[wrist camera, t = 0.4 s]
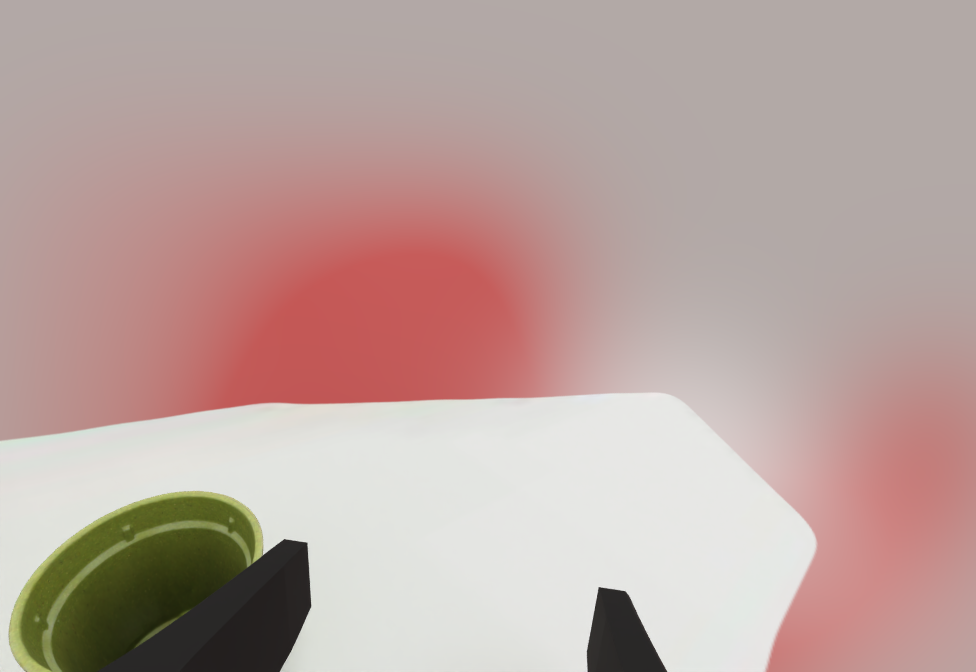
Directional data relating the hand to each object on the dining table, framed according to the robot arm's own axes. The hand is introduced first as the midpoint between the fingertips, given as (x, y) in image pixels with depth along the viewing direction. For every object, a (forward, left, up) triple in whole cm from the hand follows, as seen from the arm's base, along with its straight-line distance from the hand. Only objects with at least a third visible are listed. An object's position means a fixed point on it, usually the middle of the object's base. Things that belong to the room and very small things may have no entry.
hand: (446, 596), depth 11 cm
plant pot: (+6, +14, -20) cm, 25 cm away
